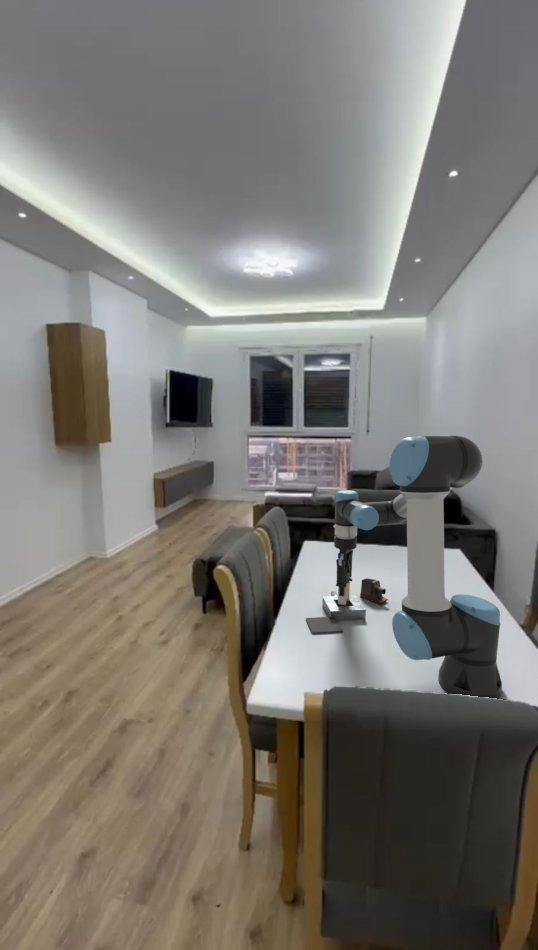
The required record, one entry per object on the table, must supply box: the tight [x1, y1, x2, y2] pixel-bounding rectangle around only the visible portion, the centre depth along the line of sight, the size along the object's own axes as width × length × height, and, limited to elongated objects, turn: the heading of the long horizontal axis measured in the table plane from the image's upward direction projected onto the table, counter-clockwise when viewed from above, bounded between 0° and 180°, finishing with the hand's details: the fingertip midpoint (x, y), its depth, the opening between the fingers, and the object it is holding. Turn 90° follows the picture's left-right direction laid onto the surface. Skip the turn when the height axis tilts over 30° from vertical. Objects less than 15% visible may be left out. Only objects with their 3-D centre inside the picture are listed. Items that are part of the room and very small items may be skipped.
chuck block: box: [321, 590, 367, 622], centre depth 168 cm, size 20×12×4 cm, turn 7°
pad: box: [305, 616, 344, 635], centre depth 155 cm, size 10×10×1 cm
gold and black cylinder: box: [338, 572, 351, 607], centre depth 164 cm, size 4×4×14 cm
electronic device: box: [359, 578, 389, 606], centre depth 175 cm, size 4×10×8 cm, turn 43°
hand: (343, 601), depth 164 cm, fingers closed on gold and black cylinder, 4 cm apart
